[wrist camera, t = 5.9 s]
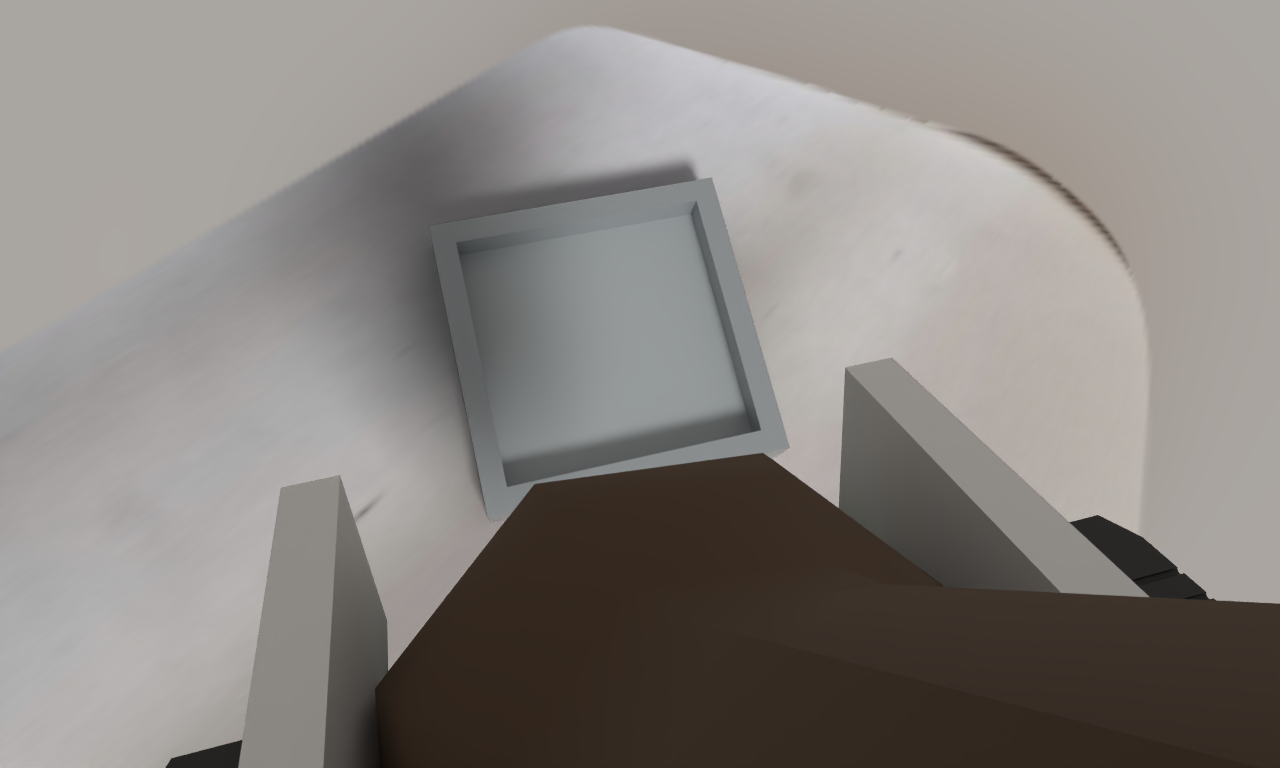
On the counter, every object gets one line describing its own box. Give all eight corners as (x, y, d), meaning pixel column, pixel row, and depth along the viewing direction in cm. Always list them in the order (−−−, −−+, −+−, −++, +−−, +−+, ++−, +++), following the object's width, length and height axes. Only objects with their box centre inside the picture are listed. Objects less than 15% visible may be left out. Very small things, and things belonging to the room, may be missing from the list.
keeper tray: (489, 522, 37) (487, 516, 35) (434, 244, 40) (428, 225, 38) (777, 456, 39) (789, 447, 37) (703, 197, 42) (711, 177, 41)
